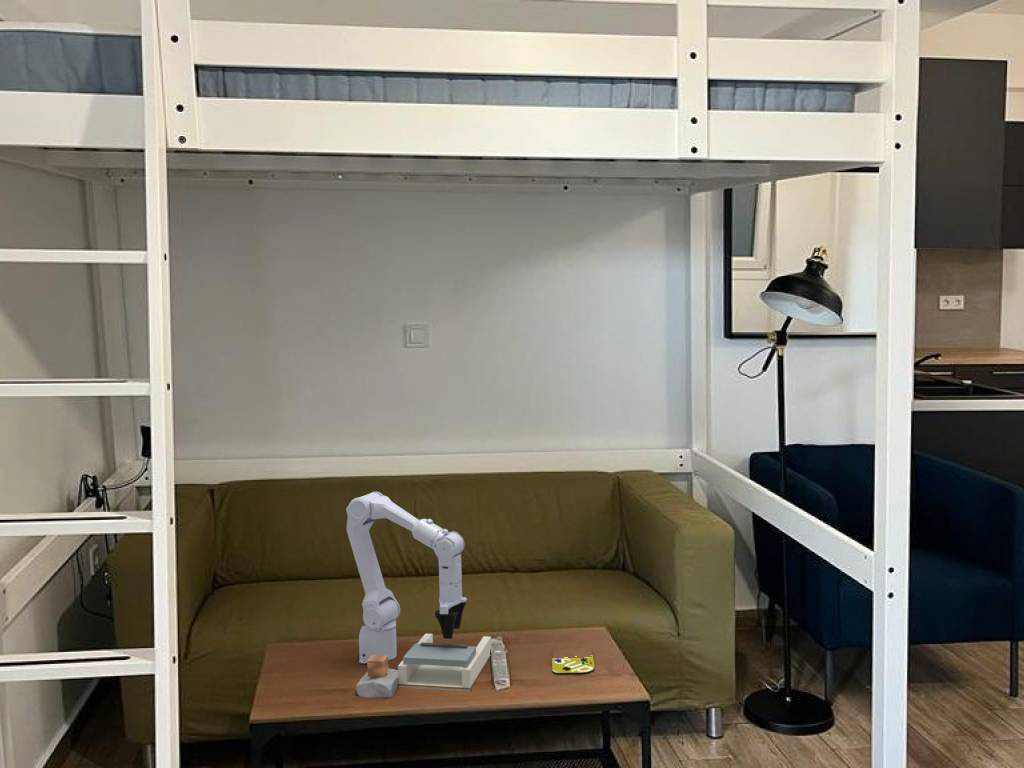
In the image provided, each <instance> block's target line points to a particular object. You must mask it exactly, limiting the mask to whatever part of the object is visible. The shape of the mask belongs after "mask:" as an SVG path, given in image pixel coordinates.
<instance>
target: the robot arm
mask: <svg viewBox="0 0 1024 768" xmlns="http://www.w3.org/2000/svg"><path fill="white" fill-rule="evenodd" d="M345 511H346V512H345V513H346V514H347V520H346V533H347V536H348V540H349V543H350V547H351V550H352V553H353V556H354V560H355V563H356V566H357V570H358V573H359V577H360V580H361V584H362V586H363V590H364V595H365V596H364V597H363V600H362V603H361V606H362V610H363V613H362V620H363V622H364V625H363V626H361V628H360V631H359V635H358V648H359V649H358V651H359V654H358V655H359V660H358V663H359V662H361V663H360V664H366V663H367V660H368V659H369V658H370V657H371V656H372V655H386V656H388V661H390V660H393V659H395V658H396V657H397V655H398V652H397V651H398V650H397V646H398V645H397V619H398V617H399V616H400V614H401V606H400V604H399V602H398V601H397V599H396V598H395V596H394V593H393V592H392V590H390V589H388V588H387V586H386V585H385V582H384V578H383V575H382V571H381V568H380V565H379V561H378V557H377V553H376V551H375V548H374V544H373V540H372V538H371V534H370V529H371V527H372V526H373V524H374V523H375V521H376V520H379V519H380V520H381V519H387V520H388V521H391V522H393V523H394V524H396V525H399V526H401V527H403V528H405V529H406V530H408V531H411V534H412V537H413V539H414V540H417V541H418V542H420V543H421V544H423V545H425V546H427V547H429V548H430V549H432V550H433V551H434V553H435V555H436V558H437V559H438V577H439V578H438V579H439V582H438V583H439V598H438V602H439V609H437V610H436V611H435V612H434V616H435V618H436V619H437V621H438V624H439V626H440V630H441V633H442V638H443V639H445V640H446V639H449V640H452V639H453V636H454V630H460V628H461V624H462V620H463V619H462V617H463V613H464V610H465V607H466V604H467V602H468V601H467V600H468V598H467V597H465V596H464V597H463V586H462V585H463V580H462V579H463V575H462V572H463V571H462V552H463V551H464V548H465V547H466V546H465V540H464V537H463V536H462V535H461V534H459V532H457V531H449V530H448V529H447V528H442V527H441V526H439V525H437V524H435V523H434V519H433V520H432V519H431V518H428V519H427V518H422V519H419V518H417V517H415V516H414V515H412V514H411V513H409V512H408V511H406V510H405V509H403V508H401V507H400V506H399V505H397V504H396V503H394V502H393V501H392V500H391V498H389V496H386V495H384V494H383V493H381V492H379V491H372V492H370V493H368V494H365V495H363V496H360V497H355V498H353V499H351V501H350V502H349V504H348V505H347V506H346V509H345ZM364 661H365V662H364Z"/></svg>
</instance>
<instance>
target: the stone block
mask: <svg viewBox="0 0 1024 768" xmlns="http://www.w3.org/2000/svg"><path fill="white" fill-rule="evenodd" d="M399 686H400V684H399V679H398V669H393V668H389V667H388V672H387V674H386V675H385V676H384V677H368V671H366V672H365V674H364V675H362V676H361V678H360V679H359V681H358V682H357V684H356V688H355V691H356V694H357V695H358V697H360V698H366V699H367V698H368V699H369V698H381V699H385V698H386V699H387V698H389V699H390V698H393V697H394V695H395V694H396V692H397V690H398V689H399Z"/></svg>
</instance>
